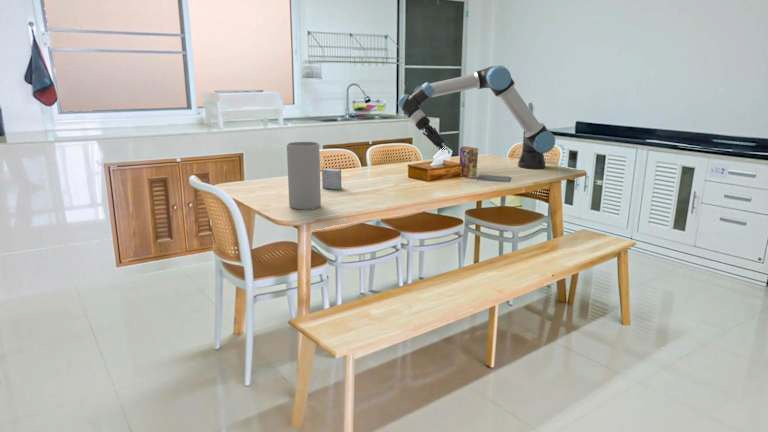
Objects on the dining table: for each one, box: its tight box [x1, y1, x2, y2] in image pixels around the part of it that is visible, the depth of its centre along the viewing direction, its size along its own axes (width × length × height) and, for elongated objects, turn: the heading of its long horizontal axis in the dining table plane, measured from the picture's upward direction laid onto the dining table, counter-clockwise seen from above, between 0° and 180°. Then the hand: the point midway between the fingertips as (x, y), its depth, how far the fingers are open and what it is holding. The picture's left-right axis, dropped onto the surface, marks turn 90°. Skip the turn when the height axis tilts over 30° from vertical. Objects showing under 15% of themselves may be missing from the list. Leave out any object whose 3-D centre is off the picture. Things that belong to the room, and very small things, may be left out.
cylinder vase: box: [286, 141, 322, 210], centre depth 206 cm, size 12×12×25 cm
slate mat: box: [476, 174, 512, 183], centre depth 266 cm, size 16×12×1 cm
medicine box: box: [321, 168, 342, 190], centre depth 240 cm, size 8×4×9 cm, turn 71°
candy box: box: [459, 145, 479, 179], centre depth 268 cm, size 9×4×15 cm, turn 39°
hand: (448, 154), depth 271 cm, fingers closed
